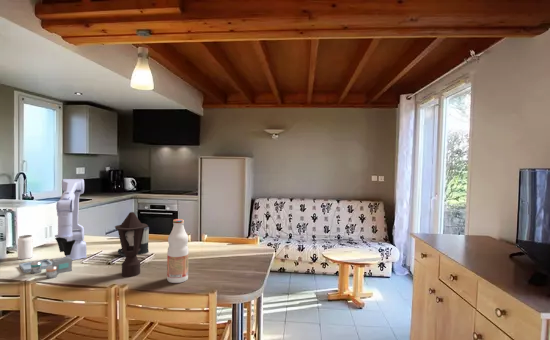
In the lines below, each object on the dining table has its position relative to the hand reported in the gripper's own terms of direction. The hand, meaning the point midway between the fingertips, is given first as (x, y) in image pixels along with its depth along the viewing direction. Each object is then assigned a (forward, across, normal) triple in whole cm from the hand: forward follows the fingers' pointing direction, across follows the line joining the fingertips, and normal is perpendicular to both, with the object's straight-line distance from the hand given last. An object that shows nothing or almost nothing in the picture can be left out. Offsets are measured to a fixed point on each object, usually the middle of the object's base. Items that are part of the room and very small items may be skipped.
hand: (65, 253), depth 150 cm
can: (+10, -42, -8) cm, 43 cm away
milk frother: (+10, -10, +37) cm, 40 cm away
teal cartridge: (+10, -12, -9) cm, 18 cm away
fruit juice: (+10, +44, +34) cm, 56 cm away
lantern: (+10, +22, +22) cm, 32 cm away
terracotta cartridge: (+10, 0, -6) cm, 11 cm away
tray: (+10, -20, -7) cm, 24 cm away
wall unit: (+10, -5, 0) cm, 11 cm away
